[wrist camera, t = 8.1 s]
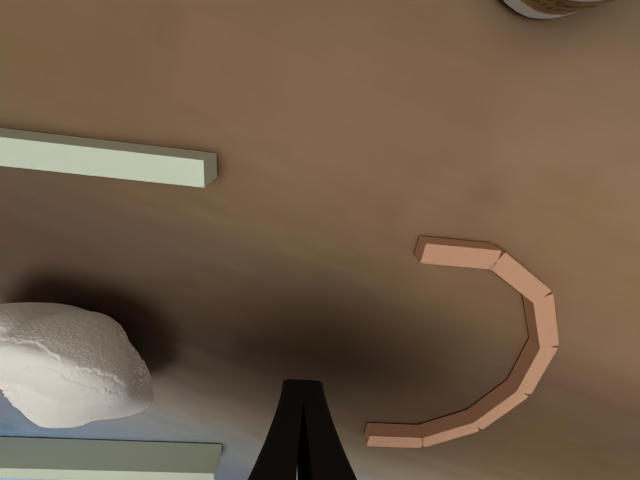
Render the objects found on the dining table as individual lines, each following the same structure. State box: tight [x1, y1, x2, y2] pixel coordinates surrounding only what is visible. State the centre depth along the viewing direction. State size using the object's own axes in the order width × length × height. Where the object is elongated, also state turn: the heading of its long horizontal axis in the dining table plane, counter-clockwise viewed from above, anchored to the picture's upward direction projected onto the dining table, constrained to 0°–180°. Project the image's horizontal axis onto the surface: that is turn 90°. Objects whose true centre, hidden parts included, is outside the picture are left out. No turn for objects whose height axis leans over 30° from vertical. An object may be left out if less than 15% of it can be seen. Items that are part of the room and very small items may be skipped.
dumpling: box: [0, 302, 153, 428], centre depth 11 cm, size 7×5×4 cm
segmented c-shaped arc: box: [364, 236, 559, 448], centre depth 14 cm, size 12×7×1 cm, turn 173°
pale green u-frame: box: [0, 128, 221, 480], centre depth 12 cm, size 16×12×1 cm
